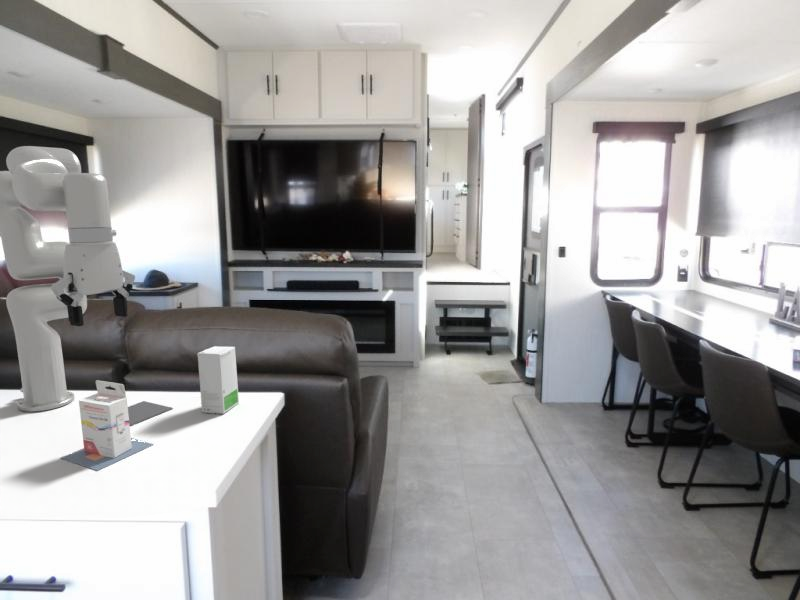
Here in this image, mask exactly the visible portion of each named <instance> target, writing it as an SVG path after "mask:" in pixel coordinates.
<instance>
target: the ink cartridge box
mask: <svg viewBox="0 0 800 600" xmlns="http://www.w3.org/2000/svg"><path fill="white" fill-rule="evenodd" d="M95 386H96V391H97V393H94V394H92V395H89V396H86V397H83V398H81V399H79V400H78V407H79V414H80V423H81V433H82V441H83V448H84V451H85V452H88V453H92V454H97V455H102V456H106V457H111V458H115V457H117V456H119V455H121V454H123V453H124V452H126V451H128V450H130V449H131V448H132V445H131V438H132V437H131V429H130V427H131V426H129V416H128V407H129V406H128V398H127V395H126V389H125V384H123V383H118V382H113V381H112V382H111V381H105V380H99V379H97V380H95ZM106 387H107V388H106ZM109 387H111V388H113V389H108V388H109Z"/></svg>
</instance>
